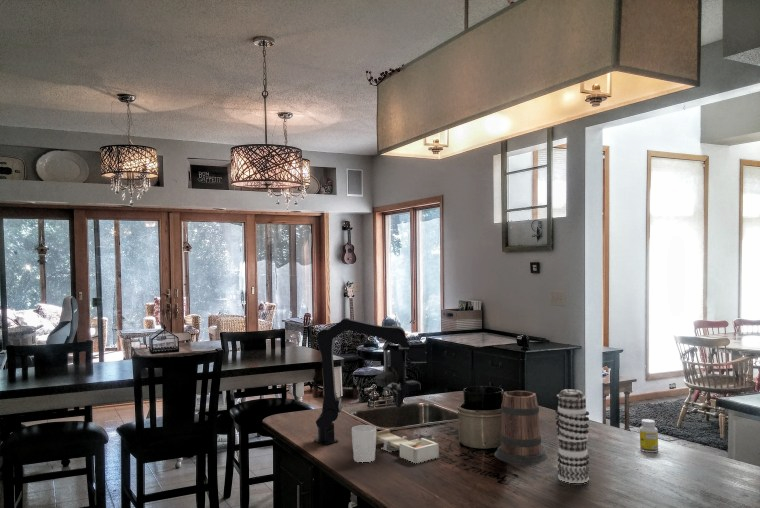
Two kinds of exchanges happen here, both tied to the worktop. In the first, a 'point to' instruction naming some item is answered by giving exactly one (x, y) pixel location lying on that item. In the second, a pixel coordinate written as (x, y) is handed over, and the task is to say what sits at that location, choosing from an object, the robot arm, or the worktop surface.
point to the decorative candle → (572, 436)
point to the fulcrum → (389, 447)
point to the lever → (401, 439)
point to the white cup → (364, 443)
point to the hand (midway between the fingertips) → (398, 407)
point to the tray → (420, 451)
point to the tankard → (520, 429)
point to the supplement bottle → (648, 436)
